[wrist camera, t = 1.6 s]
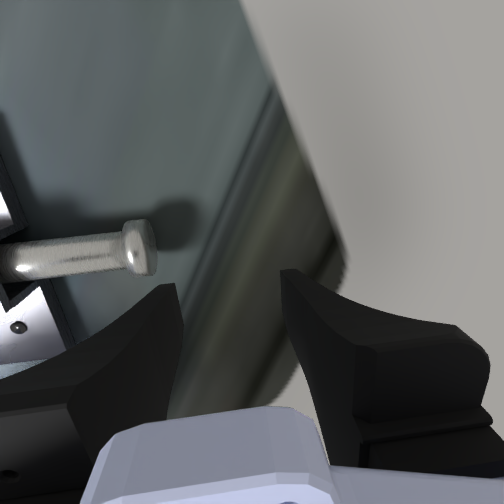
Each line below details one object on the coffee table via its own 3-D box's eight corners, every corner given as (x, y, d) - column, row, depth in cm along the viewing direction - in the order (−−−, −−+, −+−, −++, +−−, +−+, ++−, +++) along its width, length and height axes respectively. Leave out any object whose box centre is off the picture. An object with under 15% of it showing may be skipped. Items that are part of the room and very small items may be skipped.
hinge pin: (149, 212, 19) (134, 228, 16) (160, 261, 21) (148, 286, 18) (-72, 236, 19) (-135, 258, 15) (-45, 285, 20) (-98, 315, 17)
